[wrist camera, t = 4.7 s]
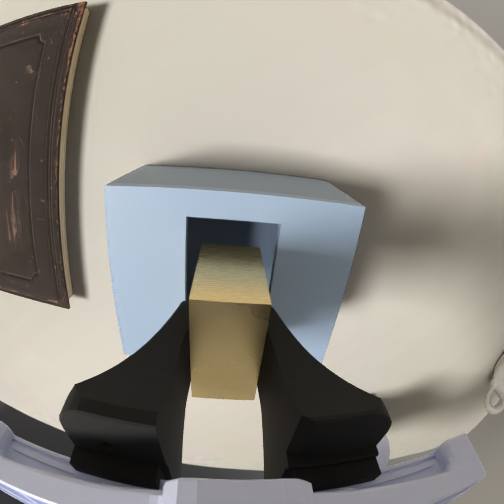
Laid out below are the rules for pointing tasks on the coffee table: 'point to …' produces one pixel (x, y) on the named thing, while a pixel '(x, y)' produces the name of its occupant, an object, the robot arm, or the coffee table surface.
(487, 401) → the teacup
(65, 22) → the hardcover book
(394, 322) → the coffee table surface
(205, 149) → the coffee table surface
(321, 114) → the coffee table surface
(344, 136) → the coffee table surface
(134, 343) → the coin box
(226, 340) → the tan wooden block
